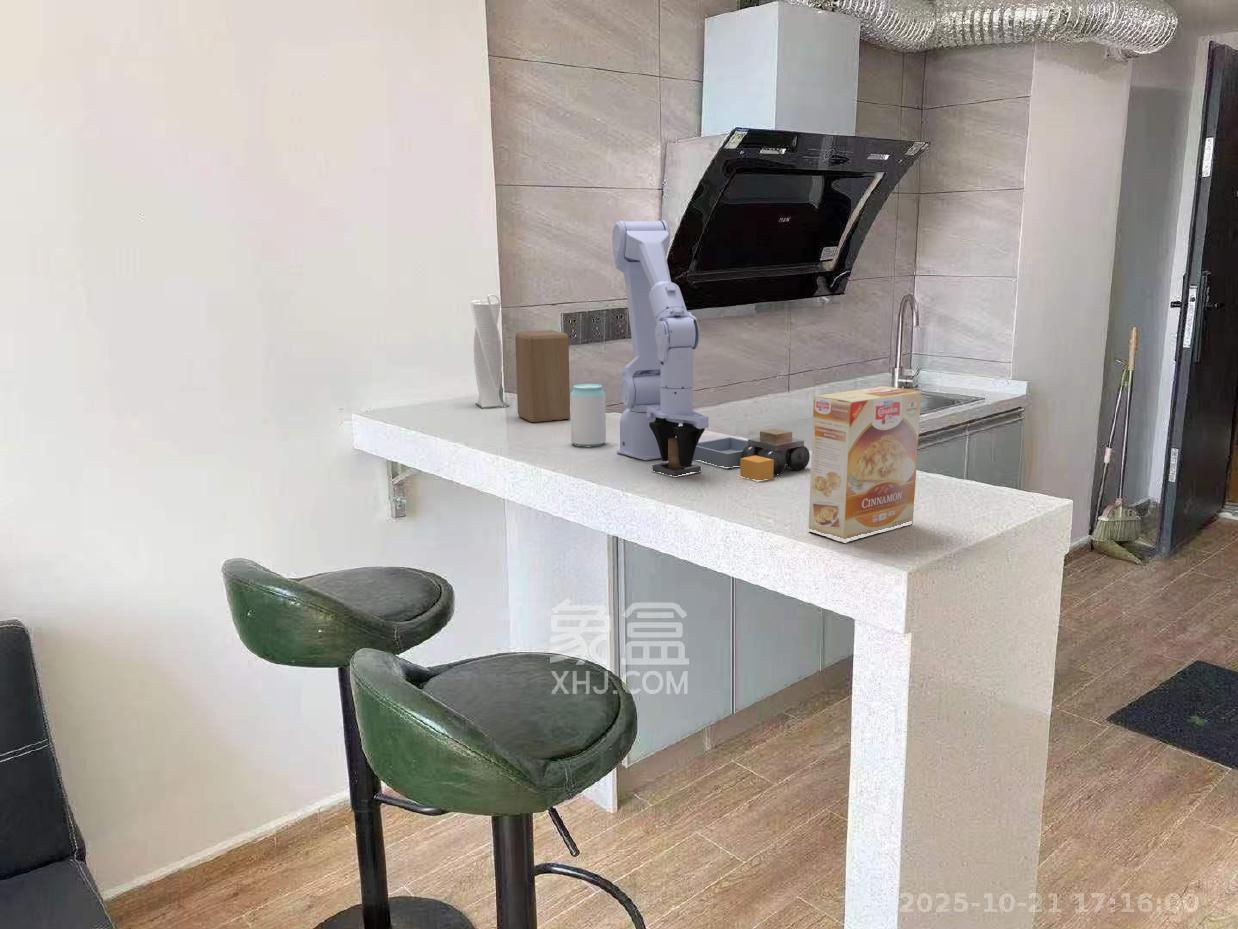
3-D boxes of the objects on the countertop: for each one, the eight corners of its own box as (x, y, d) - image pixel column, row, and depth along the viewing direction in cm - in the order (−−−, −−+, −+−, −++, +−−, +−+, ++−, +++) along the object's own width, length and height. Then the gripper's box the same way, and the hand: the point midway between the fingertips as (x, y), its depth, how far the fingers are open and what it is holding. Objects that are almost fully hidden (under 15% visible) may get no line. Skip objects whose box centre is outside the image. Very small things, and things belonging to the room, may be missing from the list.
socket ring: (652, 471, 173) (652, 465, 173) (678, 466, 177) (678, 460, 176) (674, 477, 168) (674, 471, 168) (700, 472, 172) (700, 466, 172)
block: (516, 416, 229) (513, 331, 224) (556, 413, 233) (554, 329, 229) (531, 423, 220) (528, 335, 216) (571, 420, 224) (570, 332, 220)
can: (611, 442, 199) (611, 384, 196) (596, 449, 193) (595, 388, 190) (581, 439, 202) (579, 382, 199) (565, 446, 195) (563, 387, 193)
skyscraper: (511, 407, 242) (507, 293, 235) (479, 410, 239) (474, 294, 232) (502, 402, 249) (498, 292, 243) (471, 405, 246) (466, 292, 240)
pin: (664, 472, 173) (664, 438, 171) (677, 469, 175) (677, 436, 173) (675, 475, 170) (675, 441, 169) (688, 472, 172) (688, 439, 171)
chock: (740, 478, 168) (740, 458, 168) (755, 474, 171) (755, 455, 170) (758, 482, 165) (758, 462, 164) (773, 479, 167) (773, 459, 166)
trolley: (740, 470, 173) (740, 432, 172) (781, 462, 180) (782, 425, 178) (768, 477, 168) (769, 438, 166) (809, 468, 174) (811, 430, 173)
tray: (687, 458, 183) (687, 444, 182) (730, 451, 189) (730, 436, 189) (727, 469, 174) (727, 453, 174) (770, 460, 181) (771, 445, 180)
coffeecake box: (845, 544, 131) (851, 401, 126) (805, 532, 136) (810, 394, 132) (915, 525, 139) (924, 390, 135) (876, 514, 145) (882, 384, 140)
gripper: (633, 384, 172) (633, 458, 175) (686, 393, 161) (686, 473, 164) (663, 380, 177) (663, 453, 180) (718, 389, 165) (717, 467, 168)
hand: (676, 462), depth 172 cm, fingers open, 4 cm apart
